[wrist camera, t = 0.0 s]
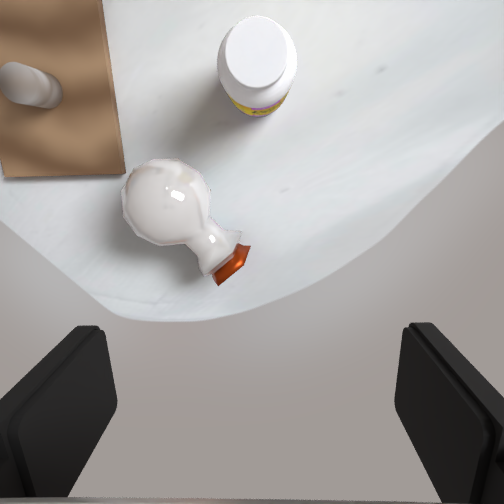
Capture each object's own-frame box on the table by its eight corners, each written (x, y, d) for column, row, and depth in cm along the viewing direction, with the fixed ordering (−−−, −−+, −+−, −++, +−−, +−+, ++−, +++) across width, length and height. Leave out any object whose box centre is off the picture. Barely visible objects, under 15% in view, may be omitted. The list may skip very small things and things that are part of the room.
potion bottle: (155, 153, 40) (238, 239, 45) (95, 208, 37) (192, 295, 41) (176, 123, 32) (275, 232, 37) (101, 190, 29) (221, 301, 33)
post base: (-31, 0, 35) (-85, -27, 29) (100, -7, 34) (70, -35, 29) (12, 176, 40) (-28, 180, 35) (126, 173, 40) (104, 177, 34)
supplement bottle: (249, 129, 38) (242, 121, 25) (215, 75, 36) (191, 39, 24) (300, 93, 36) (319, 66, 24) (267, 36, 35) (269, -25, 23)
